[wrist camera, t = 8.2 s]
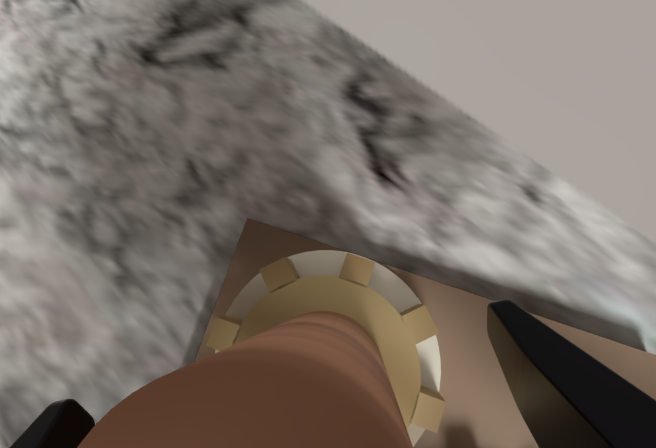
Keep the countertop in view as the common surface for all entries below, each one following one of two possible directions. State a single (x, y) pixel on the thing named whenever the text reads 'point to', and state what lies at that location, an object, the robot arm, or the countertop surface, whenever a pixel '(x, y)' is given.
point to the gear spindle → (292, 374)
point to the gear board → (435, 352)
